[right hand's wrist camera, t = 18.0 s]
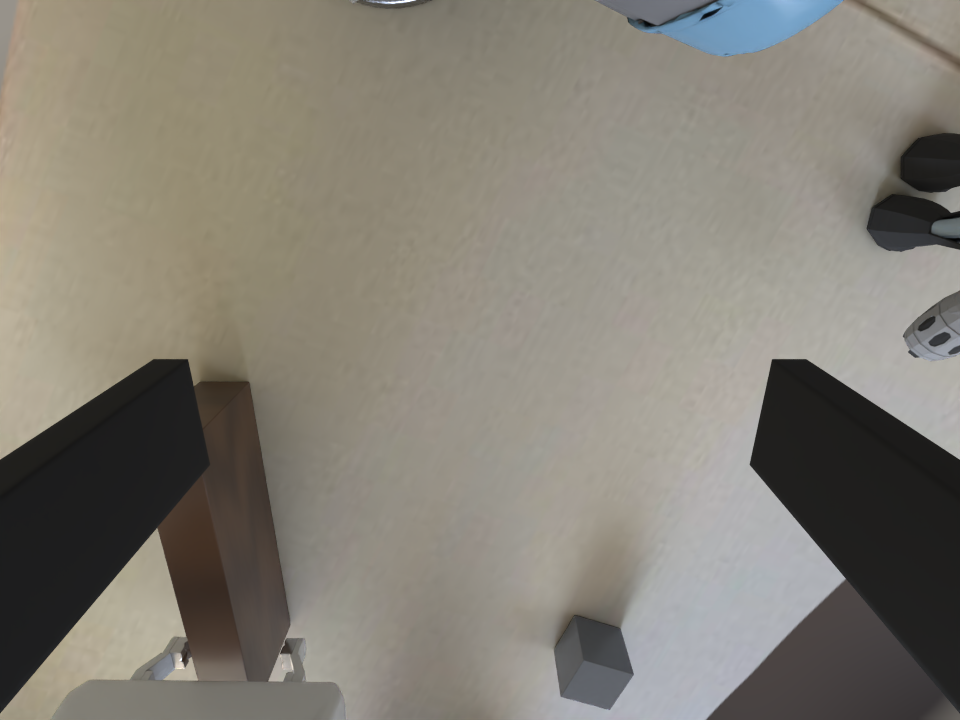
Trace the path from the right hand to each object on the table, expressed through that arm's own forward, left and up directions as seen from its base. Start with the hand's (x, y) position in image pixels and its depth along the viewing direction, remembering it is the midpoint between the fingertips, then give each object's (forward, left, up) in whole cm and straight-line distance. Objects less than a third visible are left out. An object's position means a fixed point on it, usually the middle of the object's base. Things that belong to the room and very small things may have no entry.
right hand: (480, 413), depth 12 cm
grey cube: (+26, +32, -29) cm, 50 cm away
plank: (+32, -2, -29) cm, 43 cm away
